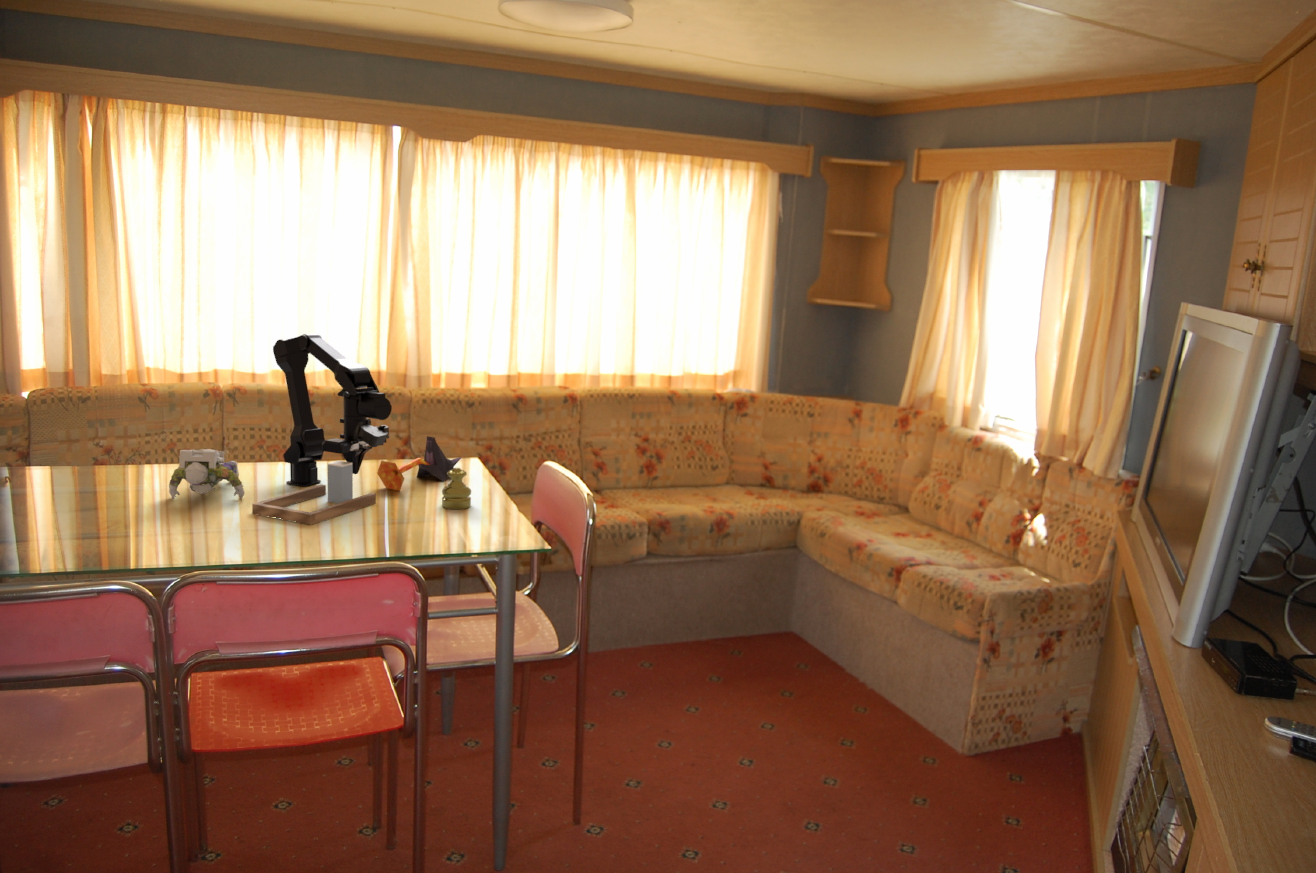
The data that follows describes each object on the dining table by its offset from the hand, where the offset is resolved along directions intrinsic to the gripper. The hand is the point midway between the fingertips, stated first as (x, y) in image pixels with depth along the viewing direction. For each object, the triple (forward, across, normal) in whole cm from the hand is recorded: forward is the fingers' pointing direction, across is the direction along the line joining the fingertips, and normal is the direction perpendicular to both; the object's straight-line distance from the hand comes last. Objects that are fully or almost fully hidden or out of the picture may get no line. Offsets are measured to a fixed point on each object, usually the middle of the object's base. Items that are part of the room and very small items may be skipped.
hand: (355, 473), depth 241 cm
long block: (+6, -6, 0) cm, 8 cm away
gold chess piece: (+6, +6, -27) cm, 28 cm away
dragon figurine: (+6, +22, -4) cm, 24 cm away
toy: (+6, -18, +30) cm, 36 cm away
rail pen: (+6, -14, 0) cm, 15 cm away
